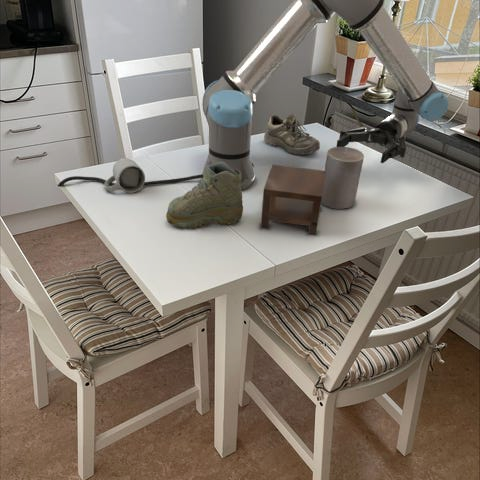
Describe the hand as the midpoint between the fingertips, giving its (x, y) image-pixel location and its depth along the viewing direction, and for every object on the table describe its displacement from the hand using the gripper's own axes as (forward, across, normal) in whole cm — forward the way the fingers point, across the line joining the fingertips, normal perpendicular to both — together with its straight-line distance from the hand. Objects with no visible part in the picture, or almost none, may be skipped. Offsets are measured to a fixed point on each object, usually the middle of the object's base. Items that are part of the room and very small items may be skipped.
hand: (359, 151), depth 140 cm
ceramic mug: (+42, +50, -11) cm, 66 cm away
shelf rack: (+26, +5, -11) cm, 29 cm away
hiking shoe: (-15, +30, -12) cm, 36 cm away
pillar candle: (+10, 0, -12) cm, 15 cm away
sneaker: (+42, +22, -11) cm, 48 cm away
